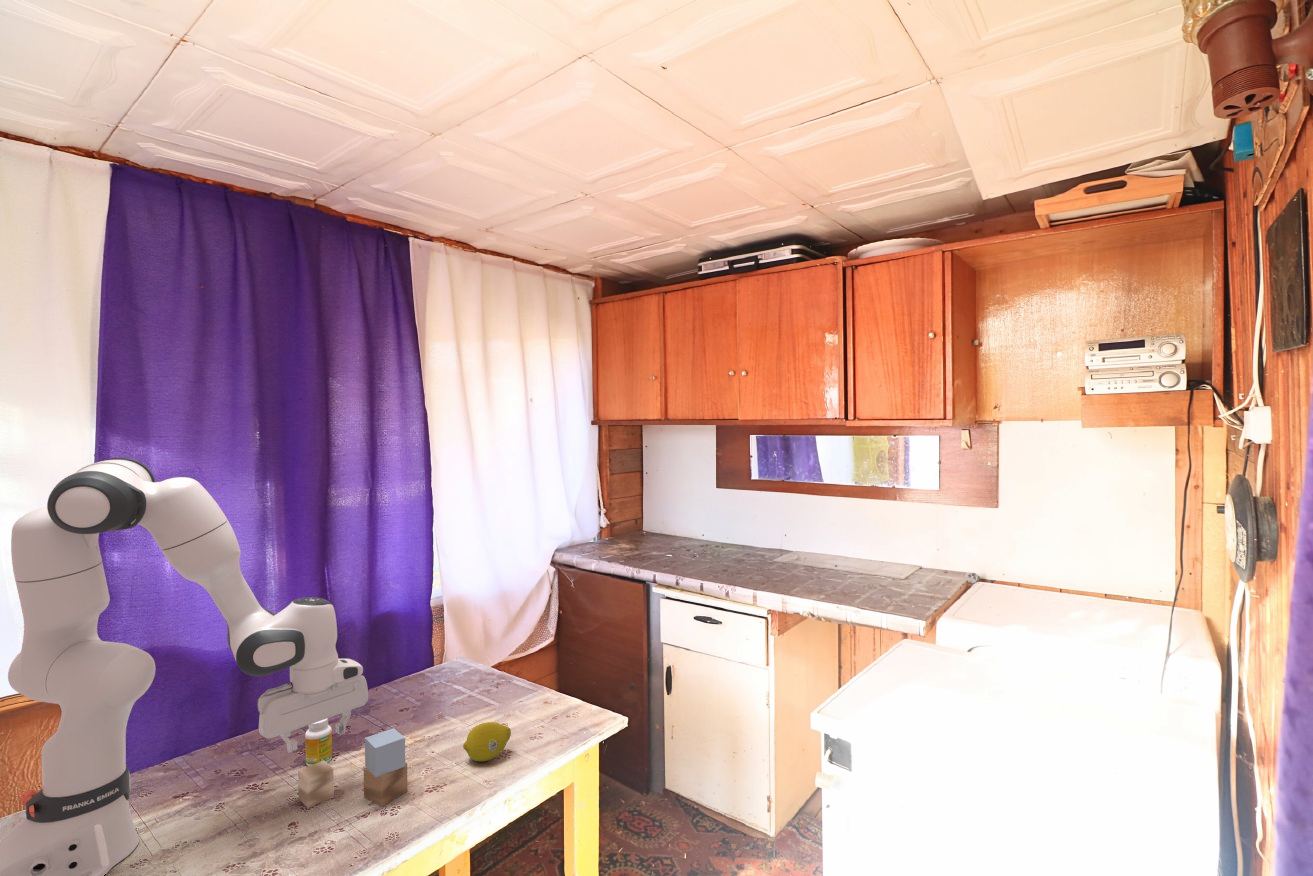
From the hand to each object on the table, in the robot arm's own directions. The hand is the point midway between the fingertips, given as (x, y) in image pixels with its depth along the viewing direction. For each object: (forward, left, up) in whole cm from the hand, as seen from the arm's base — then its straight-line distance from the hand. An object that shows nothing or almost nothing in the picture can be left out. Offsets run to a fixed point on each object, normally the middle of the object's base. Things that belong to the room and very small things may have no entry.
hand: (317, 741), depth 129 cm
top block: (+10, -10, -6) cm, 15 cm away
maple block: (0, 0, -12) cm, 12 cm away
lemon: (+32, -14, -12) cm, 37 cm away
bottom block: (+10, -10, -12) cm, 18 cm away
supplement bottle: (+6, +15, -12) cm, 20 cm away
